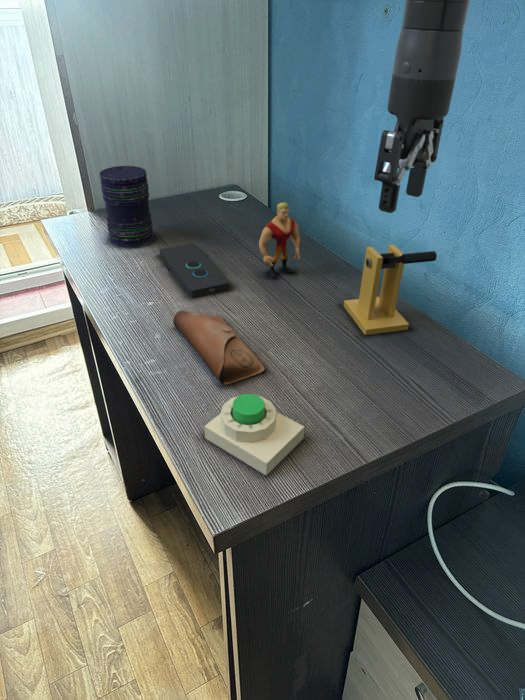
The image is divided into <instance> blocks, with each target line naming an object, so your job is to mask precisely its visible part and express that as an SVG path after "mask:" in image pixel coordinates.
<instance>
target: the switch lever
mask: <svg viewBox="0 0 525 700" xmlns="http://www.w3.org/2000/svg"><path fill="white" fill-rule="evenodd" d="M379 254H380V255H381V256H382V257H383V262H382V268H381V270H384V269H385V268H394V267H395V265H394V263H403V264H404V265H408V264H418V263H427V262H429V263H430V262H435V261H436V260H437V257H438V255H437V251H435V250H431V251H419V252H409V253H404V254H402V256H397V257H394V253H379Z"/></svg>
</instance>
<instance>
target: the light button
mask: <svg viewBox="0 0 525 700" xmlns="http://www.w3.org/2000/svg"><path fill="white" fill-rule="evenodd" d="M237 396H238V397H237ZM237 396H236V397H237V398H236V399H235V400H234V401H233V417H234V419H235V420H236V421H237V422H239V423H241V424H244V425H253V424H257V423H259V422H260V421H261V420H262V419H263V418H264V412H265V403H264V401H263V399H262V398H261V397H262V396H261V397H259V396H260V395H257V394H253V393H244V394H243V393H242V394H240V395H237Z"/></svg>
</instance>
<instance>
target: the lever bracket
mask: <svg viewBox="0 0 525 700" xmlns="http://www.w3.org/2000/svg"><path fill="white" fill-rule="evenodd" d="M387 253H394V257H397V256H402V254H405V253H404V252H403V251H402V250H400V249H399V248H398V247H397V246H396V245H395V244H389V245H388V247H387ZM380 254H381V253H379V252H378V251H377V250H376V249H375V248H374V247H373V246H366V249H365V256H364V262H363V268H362V276H361V283H360V289H359V297H358V298H355V299H347V300H346V299H345V300H343V308H344V310H346V312H347V313H348V314H349V315H350V317H351V318H352V320H353V321H354V322H355V324H356V325H357V326H358V328H359V329H360V330H361V332H362V333H363V334H364V336H370V335H379V334H385V333H386V334H387V333H393V332H394V333H395V332H402V331H409V326H410V323H409V322H408V321H407V320H406V319H405V318H404V317H403V315H402V314H401V312H399V311H398V310H397V309H396V308H397V302H398V297H399V293H400V287H401V283H402V277H403V272H404V267H405V264H403V263H394V265H395V267H394V268H385V269H383V270H384V271H383V275H382V276H383V277H382V281H381V282H382V283H381V287H380V292H379V285H380V279H381V273H382V269H381V268H382V262H383V257H382V256H381V255H380ZM378 292H379V296H378Z"/></svg>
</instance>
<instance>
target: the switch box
mask: <svg viewBox="0 0 525 700" xmlns="http://www.w3.org/2000/svg"><path fill="white" fill-rule="evenodd" d="M238 396H239V395H237V396H233V397H232V398H230V399H228V401H226V402H225V403H223V404H222V407H221V411H220V413H219V414H218V415H217V416H215V417H214V418H213V419H211V420H210V421H208V422H207V424H205V425H204V438H205V440H207V441H209V442H210V443H212V444H213V445H215V446H217V447H219V448H220V449H222V450H223V451H225V452H227V453H228V454H230V455H232V456H233V457H235V458H237V459H238V460H240V461H241V462H243V463H245V465H248V466H250V467H251V468H253V469H255V470H256V471H258V472H259V473H261V474H262V475H264V476H268V475H270V473H271V472H272V471H273V470H274V469H275V468H276V467H277V466H278V465H279V464H280V463H281V462H282V461H283V460H284V459H285V458H286V457H287V456H288V455H289V454H290V453H291V452H292V451H293V450H294V449H295V448H296V447H297V446H298V445H299V444H300V443H301V442H302V441H303V440H304V438H305V437H304V436H305V426H304V425H302V424H301V423H298V422H297V421H295V420H293V419H291V418H289V417H287V416H286V415H284V414H282V413H280V412H278V411H277V408H276V407H275V405H274V404H273V403H272V401H270V400H268V399H267V398H264V397H262V396H261V395H258V396H259V397H261V398H262V399H263V401H264V403H265V412H264V418H263V419H262V420H261V421H260V422H259V423H257V424H253V425H244V424H241V423H239V422H237V421H236V420H235V419H234V417H233V401H234V400H235V399H236V398H237V397H238Z"/></svg>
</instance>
